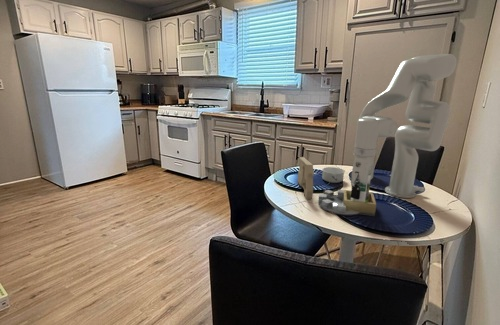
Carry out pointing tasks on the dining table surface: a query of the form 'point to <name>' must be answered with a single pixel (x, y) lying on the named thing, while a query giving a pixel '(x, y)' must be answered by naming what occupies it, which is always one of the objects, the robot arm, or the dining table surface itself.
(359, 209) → the beige and grey tray
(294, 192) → the dining table surface
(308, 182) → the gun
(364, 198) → the syrup box
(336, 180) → the saucepan
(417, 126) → the robot arm
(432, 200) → the dining table surface
